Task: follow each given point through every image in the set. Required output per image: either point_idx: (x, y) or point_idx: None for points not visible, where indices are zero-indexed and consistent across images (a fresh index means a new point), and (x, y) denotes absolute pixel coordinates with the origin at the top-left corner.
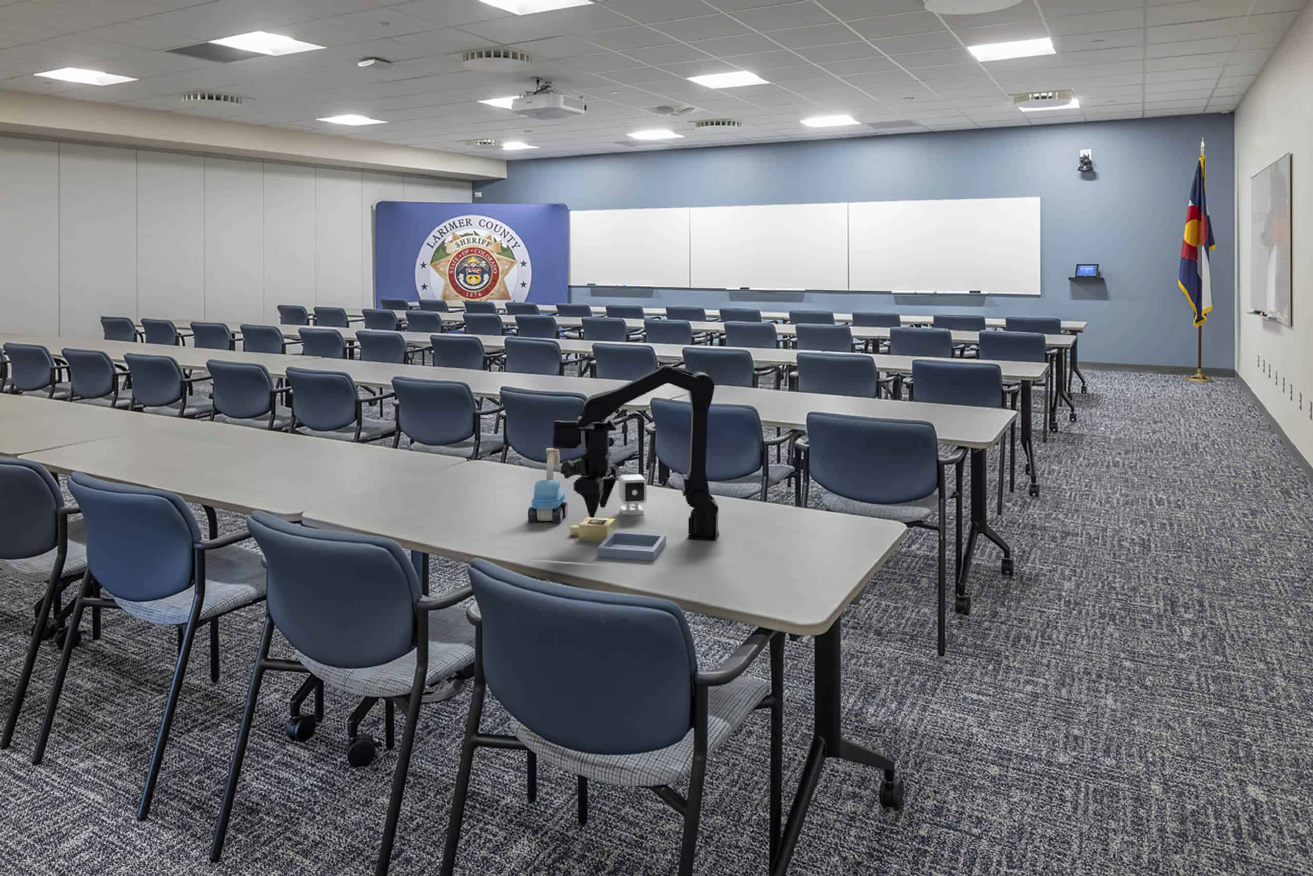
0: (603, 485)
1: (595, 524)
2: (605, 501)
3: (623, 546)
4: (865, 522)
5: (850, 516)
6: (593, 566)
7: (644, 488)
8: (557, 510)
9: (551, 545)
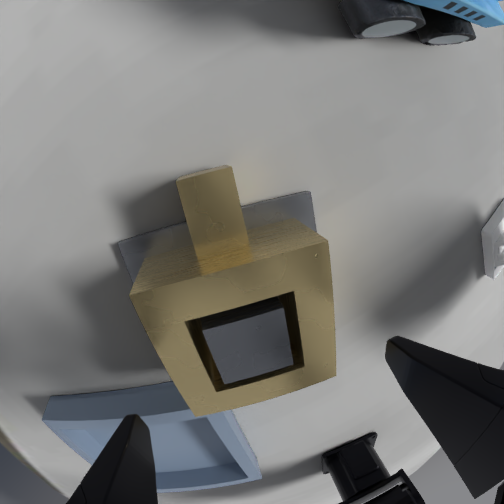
0: (487, 445)
1: (197, 367)
2: (406, 389)
3: (167, 425)
4: (415, 467)
5: (435, 451)
6: (16, 401)
7: None
8: (385, 3)
9: (30, 183)
